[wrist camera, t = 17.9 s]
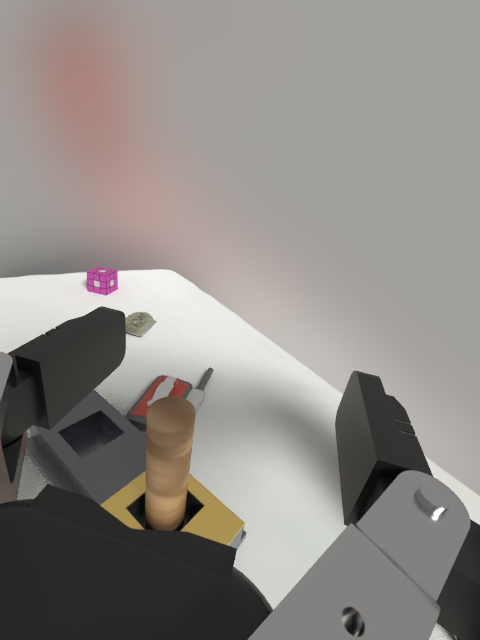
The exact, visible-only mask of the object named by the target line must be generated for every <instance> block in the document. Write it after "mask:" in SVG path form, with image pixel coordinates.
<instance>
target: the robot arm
mask: <svg viewBox="0 0 480 640" xmlns="http://www.w3.org/2000/svg"><path fill="white" fill-rule="evenodd" d="M125 350H126V322H125V314H124V313H123V312H122V311H118V310H114V309H110V308H106V307H99V308H97V309H95V310H93V311H92V312H90V313H88V314H86V315H85V316H82V317H79V318H75V319H71V320H68V321H66V322H64V323H62V324H61V325H59V326H57V327H56V328H55V329H51V330H50V331H48V332H46V333H45V335H44V334H42V335H40V336H39V337H37V338H35V339H33V340H31V341H29V342H28V343H26V344H24V345H22V346H20V347H19V348H17V349H15V350H13V351H11V352H9V353H8V354H6V353H3V352H0V640H429V638H430V635H431V633H432V631H433V629H434V626H435V624H436V622H437V623H438V624H439V625H441V626H442V627H444V628H445V629H447V630H448V631H449V632H451V633H452V634H453V636H454V637H455V639H456V640H480V525H479V524H477V523H475V522H474V521H472V520H471V519H470V517H469V514H468V511H467V509H466V508H465V506H464V504H463V503H462V501H461V500H460V499H459V497H458V496H457V495H456V494H455V493H454V492H453V491H452V490H451V489H450V488H449V487H447V486H446V485H445V484H443V483H442V482H441V481H439V480H438V479H436V478H434V477H433V475H432V473H431V470H430V468H429V466H428V463H427V461H426V458H425V456H424V454H423V451H422V449H421V446H420V444H419V442H418V439H417V437H416V436H415V432H414V429H413V427H412V425H410V423H411V422H410V420H409V417H408V415H407V412H406V410H405V409H404V407H403V406H402V405H401V404H400V403H399V402H398V401H397V400H396V399H395V398H394V397H393V396H389V395H386V394H385V391H384V388H383V385H382V382H381V379H380V377H378V376H374V375H370V374H366V373H363V372H359V371H353V373H352V374H351V376H350V379H349V381H348V384H347V387H346V389H345V392H344V394H343V397H342V400H341V402H340V405H339V407H338V411H337V415H336V422H335V428H336V439H337V450H338V461H339V471H340V482H341V493H342V504H343V514H344V525H347V526H348V527H347V528H346V529H345V530H344V531H343V532H342V533H341V534H340V535H339V537H338V538H337V539H336V540H335V541H334V542H333V543H332V545H331V546H330V547H329V548H328V549H327V550H326V551H325V552H324V554H323V555H322V556H321V557H320V558H319V559H318V560H317V562H316V563H315V564H314V565H313V566H312V567H311V568H310V569H309V571H308V572H307V573H306V574H305V575H304V576H303V577H302V579H301V580H300V581H299V582H298V583H297V584H296V585H295V586H294V588H293V589H292V590H291V591H290V592H289V593H288V594H287V596H286V597H285V598H284V599H283V600H282V601H281V602H280V603H279V605H278V606H277V607H276V608H275V609H274V610H273V609H272V607H271V606H270V604H269V603H268V601H267V600H266V598H265V597H264V595H263V594H262V593H261V592H260V591H259V589H258V588H257V587H256V586H255V585H254V583H252V582H251V581H250V580H249V579H248V578H247V577H246V576H245V575H244V574H243V573H242V572H240V571H239V570H238V569H236V568H235V567H233V565H234V560H235V555H236V551H237V548H234V547H231V546H228V545H225V544H222V543H219V542H216V541H213V540H210V539H207V538H204V537H202V536H199V535H196V534H193V533H190V532H184V531H164V530H144V529H133V528H130V527H128V526H126V525H125V524H124V523H123V522H121V521H120V520H119V519H117V518H116V517H115V516H113V515H112V514H111V513H109V512H108V511H107V510H105V509H104V508H103V507H102V506H100V505H99V504H98V503H96V502H95V501H94V500H92V499H91V498H88V497H85V496H82V495H79V494H76V493H73V492H70V491H67V490H64V489H62V488H59V487H56V486H53V485H50V484H47V485H46V487H45V488H44V489H43V490H42V491H41V492H40V493H39V494H38V496H37V497H36V498H35V499H26V500H17V494H18V487H19V482H20V477H21V471H22V466H23V460H24V455H25V449H26V444H27V432H26V430H27V429H29V428H30V427H31V426H32V425H35V426H39V427H42V428H45V429H48V430H50V429H51V428H53V427H54V426H55V425H56V424H57V423H58V422H59V421H60V420H61V419H62V418H63V417H64V416H66V415H67V414H68V413H69V412H70V411H71V410H72V409H73V408H74V407H75V406H76V405H77V404H79V403H80V402H81V401H82V400H83V399H84V398H85V397H86V396H87V395H88V394H89V393H90V392H91V391H93V390H94V389H95V388H96V387H97V386H98V385H99V384H100V383H101V382H102V381H103V380H104V379H106V378H107V377H108V376H109V375H110V374H111V373H112V372H113V371H114V370H115V369H116V368H117V367H118V366H119V365H120V364H121V362H122V361H123V358H124V356H125Z"/></svg>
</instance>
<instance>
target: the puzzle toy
mask: <svg viewBox="0 0 480 640" xmlns="http://www.w3.org/2000/svg"><path fill="white" fill-rule="evenodd" d="M87 284H88V291H90V292H94V293H99V294H103V295H108V294H110V293H111V292H113V291H115V290H117V289H118V286H117V271H116V270H111V269H107V268H103V267H97V268H95V269H92V270H90V271H88V272H87Z"/></svg>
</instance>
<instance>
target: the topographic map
mask: <svg viewBox="0 0 480 640" xmlns="http://www.w3.org/2000/svg"><path fill="white" fill-rule="evenodd" d="M125 322H126V332H128V333H131V334H133V335H136V336H139V337H141V336H142V335H143V334H145V332H147V330H149V329H150V328H151V327H152V326H153V325H154V324H155V323H156V322H157V321H155V320H154V319H153V318H152V316H151V315H150V314H148V313H146V312H138V313H137V312H136V313H133V314H132V315H128V317H126V318H125Z"/></svg>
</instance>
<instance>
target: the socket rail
mask: <svg viewBox="0 0 480 640" xmlns="http://www.w3.org/2000/svg"><path fill="white" fill-rule="evenodd" d="M30 428H31V434H32V437H31V438H29V439H27V444H26V449H25V451H26V453H27V454H28V455H29V457H30V458H31V459H32V461H33V462H34V464H35V465H36V466H37V468H38V469H39V470H40V472H41V473H42V474H43V476H44V477H45V478H46V480H47V481H48V483H49V484H50V485H53V486H56V487H59V488H62V489H64V490H67V491H70V492H73V493H76V494H79V495H82V496H85V497H88V498H91V499H92V500H94V501H95V502H96V503H98V504H99V505H100V506H102V507H103V508H104V509H105V510H107V511H108V512H109V513H111V514H112V515H113V516H115V517H116V518H117V519H119V520H120V521H121V522H123V523H124V524H125V525H126V526H128V527H130V528H133V529H144V530H145V489H146V436H145V435H144V434H143V433H142V432H141V431H139V430H138V429H137V428H136V427H135V426H134V425H133V424H132V423H131V422H129V421H128V420H127V419H126V418H125V417H124V416H123V415H122V414H120V413H119V412H118V411H117V410H116V409H115V408H114V407H113V406H112V405H110V404H109V403H108V402H107V401H106V400H105V399H104V398H103V397H102V396H100V395H99V394H98V393H97V392H96V391H95V390H94V391H91V392H90V393H89V394H88V395H87V396H86V397H85V398H84V399H83V400H82V401H81V402H80V403H79V404H77V405H76V406H75V407H74V408H73V409H72V410H71V411H70V412H69V413H68V414H67V415H66V416H64V417H63V418H62V419H61V420H60V421H59V422H58V423H57V424H56V425H55V426H54V427H53V428H51V429H50V430H48V429H45V428H42V427H39V426H35V425H32V426H31V427H30ZM244 525H245V523H244V522H243V521H242V520H241V519H240V518H239V517H238V516H236V515H235V514H234V513H233V512H232V511H231V510H230V509H229V508H228V507H226V506H225V505H224V504H223V503H222V502H221V501H220V500H219V499H217V498H216V497H215V496H214V495H213V494H212V493H211V492H210V491H208V490H207V489H206V488H205V487H204V486H203V485H202V484H201V483H200V482H198V481H197V480H196V479H195V478H194V477H193V476H192V475H191V474H189V479H188V488H187V498H186V507H185V517H184V526H183V529H182V530H181V531H184V532H190V533H193V534H196V535H199V536H202V537H204V538H207V539H210V540H213V541H216V542H219V543H222V544H225V545H228V546H231V547H234V548H238V547H239V546H240V544H241V543H242V542H243V540H244V539H245V536H246V532H245V531H244V530H243V528H244Z"/></svg>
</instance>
